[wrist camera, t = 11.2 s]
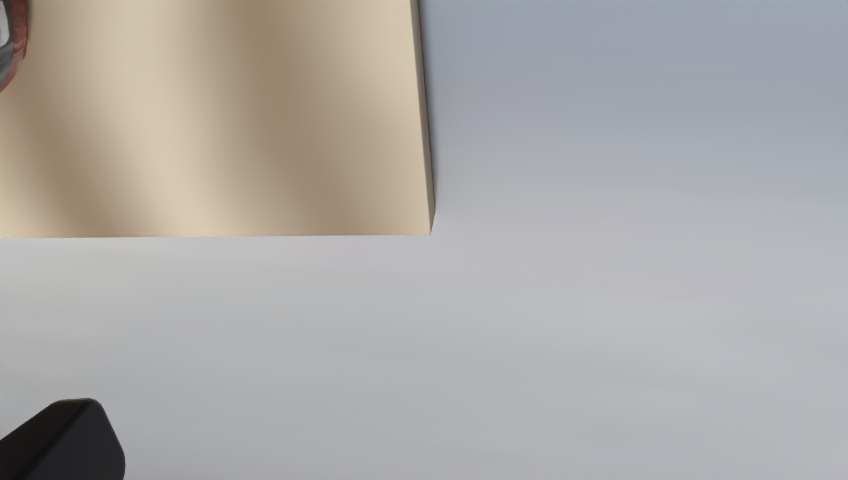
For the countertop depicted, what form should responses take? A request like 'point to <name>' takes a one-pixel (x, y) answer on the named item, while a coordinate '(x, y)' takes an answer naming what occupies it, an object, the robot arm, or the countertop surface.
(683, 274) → the countertop surface
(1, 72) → the supplement bottle
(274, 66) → the birch board
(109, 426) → the robot arm
